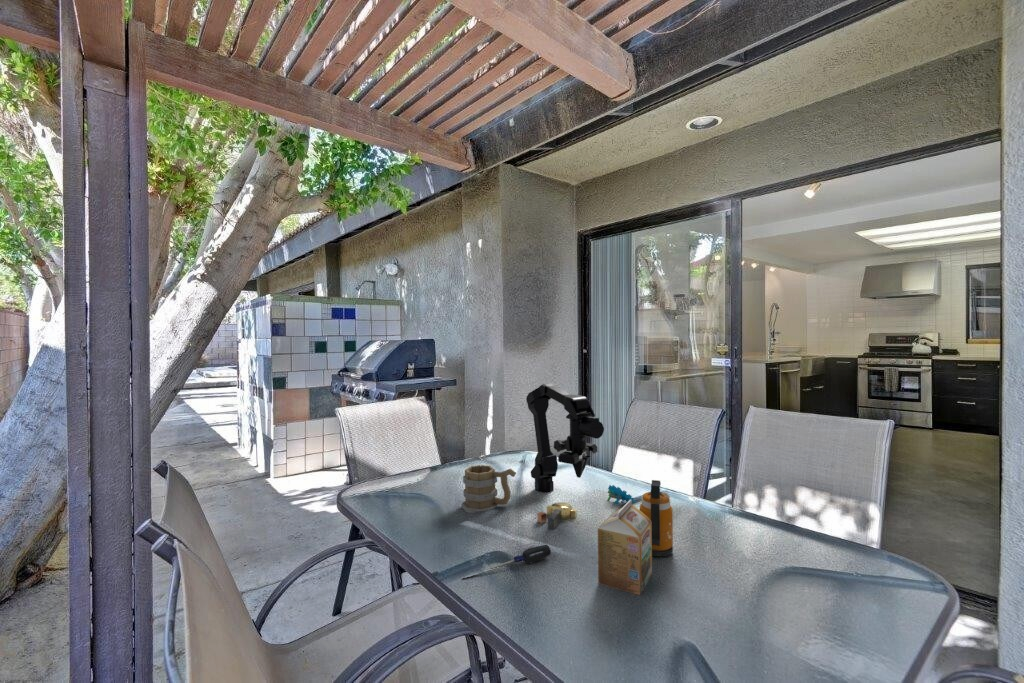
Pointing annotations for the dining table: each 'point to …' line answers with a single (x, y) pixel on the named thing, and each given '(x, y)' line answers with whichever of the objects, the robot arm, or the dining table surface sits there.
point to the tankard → (484, 488)
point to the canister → (659, 519)
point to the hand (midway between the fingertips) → (578, 477)
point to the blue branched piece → (618, 494)
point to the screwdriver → (529, 555)
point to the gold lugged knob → (559, 513)
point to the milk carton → (625, 550)
